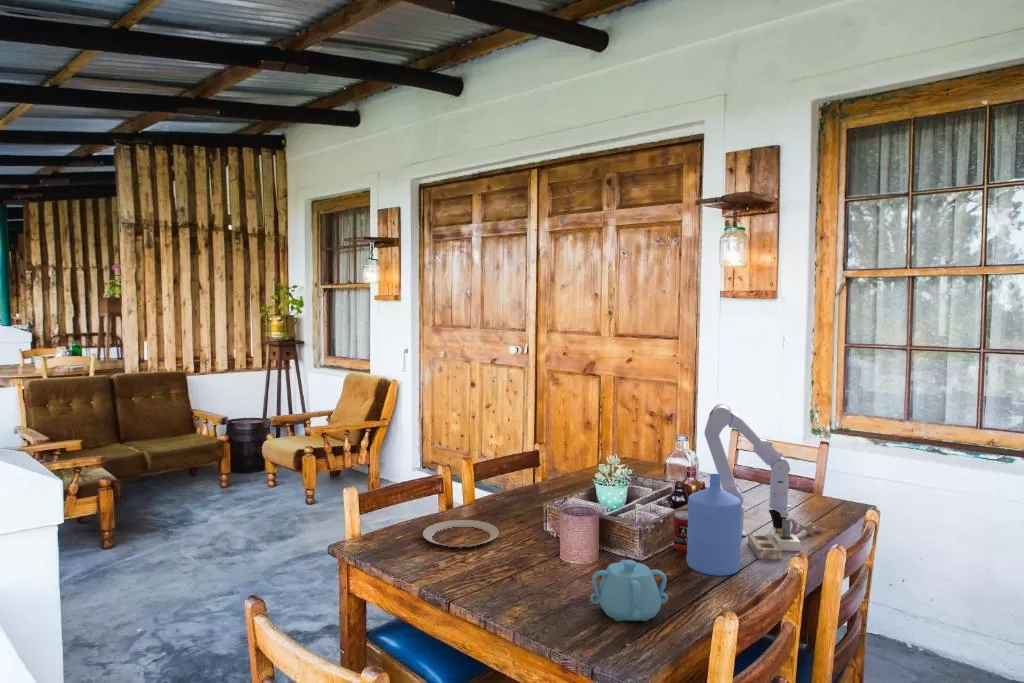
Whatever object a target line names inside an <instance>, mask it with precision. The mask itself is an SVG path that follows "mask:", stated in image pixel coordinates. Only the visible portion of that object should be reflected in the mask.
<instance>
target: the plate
mask: <svg viewBox="0 0 1024 683" xmlns="http://www.w3.org/2000/svg"><path fill="white" fill-rule="evenodd" d="M452 527H474V528H479V529H482V530H484V531H483V532H485V531H486V532H488V533H489V534H490V536H489V538H488V539H487V540H485V541H482V542H480V543H476V544H468V545H466V544H465V545H449V544H444V543H440V542H437V541H435V540H434V539H433V537H432V536H435V533H436V532H437V531H439V532H441V531H440V530H442V531H444V530H443V529H446V530H448V529H447V528H451V529H453V528H452ZM474 528H473V529H474ZM479 529H478V530H479ZM482 530H481V531H482ZM486 532H485V533H486ZM437 533H438V532H437ZM437 533H436V534H437ZM488 533H487V534H488ZM489 534H488V535H489ZM499 535H500V531H499V529H498V528H497V527H496V526H495V525H493V524H491V523H489V522H485V521H480V520H474V519H452V520H445V521H444V520H443V521H440V522H437V523H433V524H432V525H429V526H427V527H426V528H425V529H424V530H423V532H422V537H423V538H424V539H425V540H426V541H428V542H430V543H432V544H435V545H438V544H439V545H438V546H440V545H443V546H442V547H444V546H448V547H447V548H451V547H459V548H458V549H463V548H462V547H468V548H473V547H472V546H474V547H478V546H477V545H479V546H481V545H480V544H482V545H484V544H487V543H488V542H491V541H493V540H494V539H496V538H497V537H499ZM483 543H484V544H483Z"/></svg>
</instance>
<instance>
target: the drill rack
mask: <svg viewBox="0 0 1024 683" xmlns="http://www.w3.org/2000/svg"><path fill="white" fill-rule="evenodd" d="M747 543H748V545H749V547H750V549H751V550H752V552H753V553H754V555H755V556H756V558H757V559H758V560H775V561H776V560H778V561H779V560H780V561H782V551H783V550H781V549H780V547H779V546H778V545H777V543H776V542H775V541H774V539H773V538H772V535H771V534H758V533H756V534H755V533H747Z"/></svg>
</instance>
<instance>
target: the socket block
mask: <svg viewBox="0 0 1024 683" xmlns="http://www.w3.org/2000/svg"><path fill="white" fill-rule="evenodd" d="M770 536H771V537H772V538H773V539H774V541H775V542H776V543H777V545H778V546H779V547H780V549H781V550H782V551H792V552H793V551H794V552H795V551H796V552H797V551H798V552H800V551H801V541H800V539H799V538H798V537H797V536H796V535H795V534H790V540H784V539H782V538H781V535H780V534H774V532H770Z"/></svg>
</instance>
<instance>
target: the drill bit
mask: <svg viewBox="0 0 1024 683" xmlns="http://www.w3.org/2000/svg"><path fill="white" fill-rule="evenodd" d="M787 518H788V517H787ZM787 518H783V519H782V539H784V540H790V532H791V521H790V519H787Z"/></svg>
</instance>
